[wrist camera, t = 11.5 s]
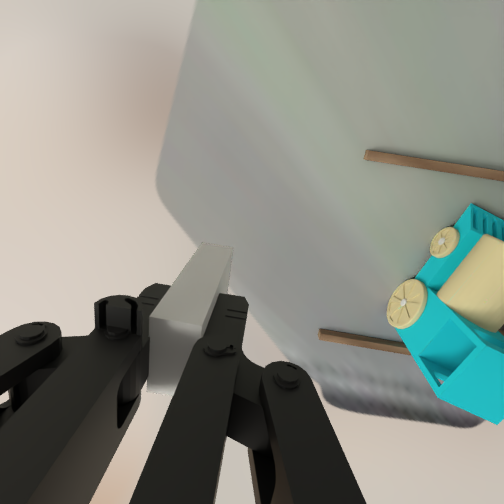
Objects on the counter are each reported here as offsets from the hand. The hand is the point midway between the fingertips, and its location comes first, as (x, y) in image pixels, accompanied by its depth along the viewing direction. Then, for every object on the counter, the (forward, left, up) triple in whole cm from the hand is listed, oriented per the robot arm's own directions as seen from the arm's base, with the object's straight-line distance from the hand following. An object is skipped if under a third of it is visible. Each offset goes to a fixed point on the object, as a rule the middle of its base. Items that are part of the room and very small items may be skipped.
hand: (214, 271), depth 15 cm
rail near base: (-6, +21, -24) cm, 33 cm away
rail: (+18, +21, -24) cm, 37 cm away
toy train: (+6, +25, -25) cm, 36 cm away
